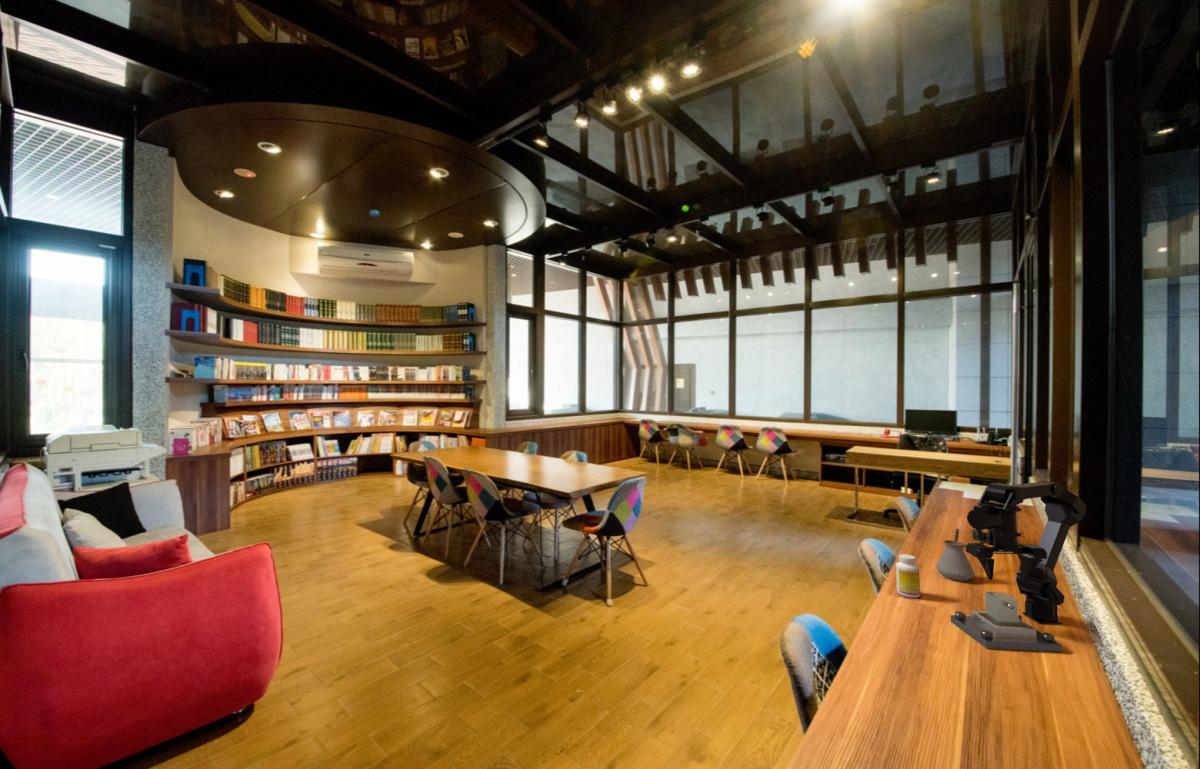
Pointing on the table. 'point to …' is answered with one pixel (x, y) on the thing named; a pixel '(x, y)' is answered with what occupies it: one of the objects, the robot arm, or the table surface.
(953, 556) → the coffee pot
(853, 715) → the table surface
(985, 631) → the square hole base plate
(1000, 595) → the brushed metal square peg
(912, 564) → the supplement bottle
